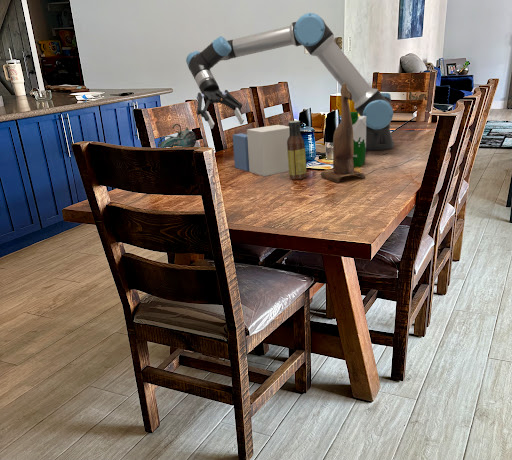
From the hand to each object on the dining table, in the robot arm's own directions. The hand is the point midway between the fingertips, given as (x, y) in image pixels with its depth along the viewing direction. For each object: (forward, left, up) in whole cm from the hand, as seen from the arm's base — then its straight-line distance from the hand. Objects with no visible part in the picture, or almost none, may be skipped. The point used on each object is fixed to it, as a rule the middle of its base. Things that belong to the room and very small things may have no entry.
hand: (227, 124), depth 203 cm
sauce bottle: (-37, +11, -16) cm, 42 cm away
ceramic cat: (+4, +27, -16) cm, 32 cm away
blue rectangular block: (-10, +4, -16) cm, 19 cm away
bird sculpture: (-52, +6, -16) cm, 55 cm away
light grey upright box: (-17, +1, -16) cm, 24 cm away
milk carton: (-48, -14, -16) cm, 52 cm away
